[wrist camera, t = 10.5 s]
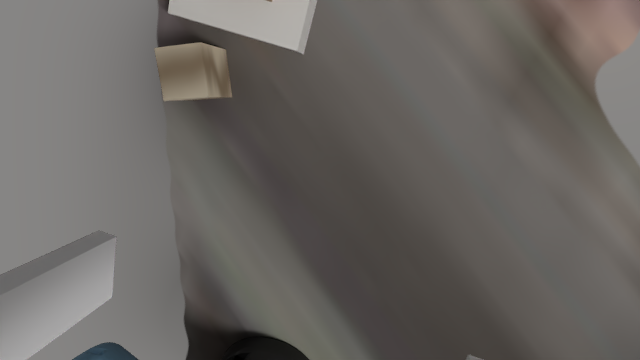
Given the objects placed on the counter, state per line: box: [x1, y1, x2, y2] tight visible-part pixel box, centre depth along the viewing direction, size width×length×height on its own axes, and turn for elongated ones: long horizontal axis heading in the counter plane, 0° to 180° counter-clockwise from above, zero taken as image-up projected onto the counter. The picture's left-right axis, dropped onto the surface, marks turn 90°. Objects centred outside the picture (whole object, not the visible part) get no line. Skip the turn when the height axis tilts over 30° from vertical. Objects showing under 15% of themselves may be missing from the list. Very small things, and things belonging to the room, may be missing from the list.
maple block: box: [154, 42, 232, 101], centre depth 33 cm, size 5×5×5 cm
